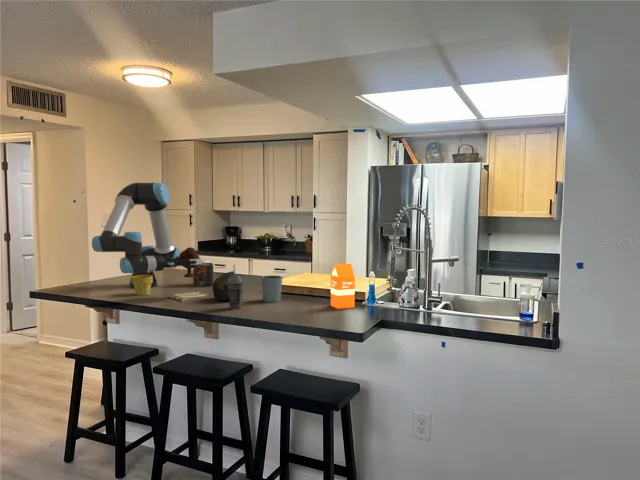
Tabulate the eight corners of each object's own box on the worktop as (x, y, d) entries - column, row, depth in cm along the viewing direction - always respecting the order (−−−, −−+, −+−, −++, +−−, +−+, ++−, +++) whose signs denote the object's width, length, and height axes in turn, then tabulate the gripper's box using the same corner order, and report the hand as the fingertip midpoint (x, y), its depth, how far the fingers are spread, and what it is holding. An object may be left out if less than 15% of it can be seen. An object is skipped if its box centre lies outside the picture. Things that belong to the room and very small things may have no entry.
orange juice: (330, 305, 229) (330, 263, 227) (347, 304, 232) (347, 262, 231) (337, 308, 222) (337, 265, 220) (354, 307, 225) (355, 264, 224)
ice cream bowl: (203, 275, 252) (202, 246, 251) (195, 278, 241) (195, 248, 240) (183, 274, 253) (183, 246, 252) (174, 277, 242) (174, 247, 241)
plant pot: (127, 295, 252) (127, 277, 252) (142, 292, 262) (141, 274, 261) (143, 297, 248) (143, 278, 248) (157, 293, 258) (157, 275, 257)
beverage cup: (229, 310, 217) (229, 266, 216) (225, 307, 224) (224, 264, 222) (245, 308, 221) (245, 265, 219) (240, 305, 227) (240, 263, 226)
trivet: (169, 296, 249) (169, 294, 249) (197, 293, 259) (196, 290, 258) (182, 301, 237) (181, 298, 237) (210, 297, 247) (209, 294, 247)
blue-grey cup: (257, 300, 240) (257, 276, 239) (273, 297, 247) (272, 274, 246) (271, 303, 233) (271, 278, 232) (286, 300, 240) (286, 276, 239)
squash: (201, 289, 239) (218, 268, 235) (220, 286, 253) (236, 266, 248) (219, 310, 235) (236, 289, 230) (237, 306, 249) (253, 285, 244)
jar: (210, 287, 279) (210, 261, 278) (190, 287, 279) (190, 261, 278) (215, 283, 290) (215, 259, 289) (196, 283, 291) (195, 258, 290)
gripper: (145, 268, 244) (186, 265, 258) (163, 273, 226) (206, 269, 240) (145, 253, 244) (186, 251, 258) (163, 257, 226) (206, 254, 240)
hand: (196, 260), depth 249 cm, fingers closed on ice cream bowl, 11 cm apart
